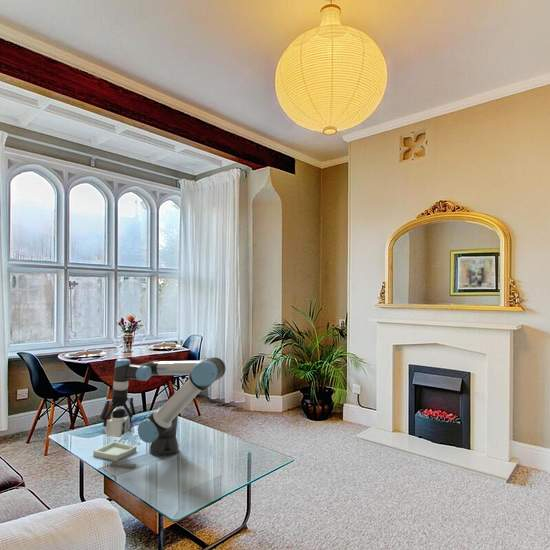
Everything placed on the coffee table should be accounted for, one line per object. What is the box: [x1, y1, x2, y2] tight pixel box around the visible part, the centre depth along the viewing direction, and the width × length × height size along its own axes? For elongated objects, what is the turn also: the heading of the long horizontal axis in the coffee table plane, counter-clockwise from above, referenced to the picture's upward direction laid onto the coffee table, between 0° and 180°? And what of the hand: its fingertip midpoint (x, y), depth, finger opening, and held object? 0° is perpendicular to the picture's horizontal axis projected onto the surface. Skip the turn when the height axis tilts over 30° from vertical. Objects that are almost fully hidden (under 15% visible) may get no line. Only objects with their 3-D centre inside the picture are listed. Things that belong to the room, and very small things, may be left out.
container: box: [105, 407, 128, 438], centre depth 216 cm, size 8×8×13 cm
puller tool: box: [109, 461, 137, 470], centre depth 201 cm, size 12×2×2 cm, turn 86°
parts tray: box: [92, 441, 137, 462], centre depth 216 cm, size 15×15×2 cm
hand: (116, 430), depth 216 cm, fingers closed on container, 10 cm apart
